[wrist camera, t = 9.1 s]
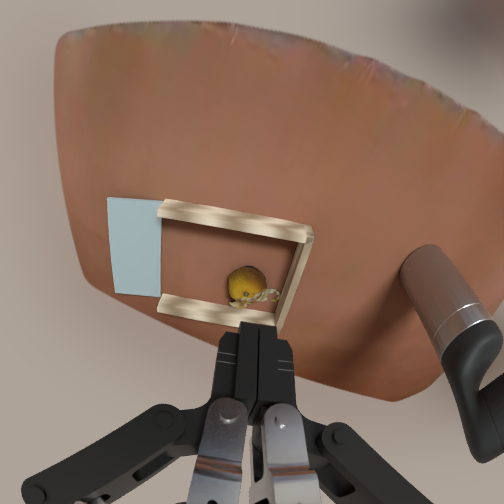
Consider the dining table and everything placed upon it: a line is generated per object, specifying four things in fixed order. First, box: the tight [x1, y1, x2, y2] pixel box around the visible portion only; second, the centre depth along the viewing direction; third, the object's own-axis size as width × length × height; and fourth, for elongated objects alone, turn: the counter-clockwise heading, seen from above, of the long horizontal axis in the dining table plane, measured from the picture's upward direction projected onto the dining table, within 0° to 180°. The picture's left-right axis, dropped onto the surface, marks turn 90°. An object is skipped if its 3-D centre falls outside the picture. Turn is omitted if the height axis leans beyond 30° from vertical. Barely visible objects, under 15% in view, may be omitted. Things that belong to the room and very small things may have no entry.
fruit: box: [228, 266, 281, 309], centre depth 44 cm, size 8×8×4 cm
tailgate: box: [107, 197, 163, 297], centre depth 41 cm, size 1×17×8 cm
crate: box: [157, 199, 315, 333], centre depth 42 cm, size 20×18×4 cm
